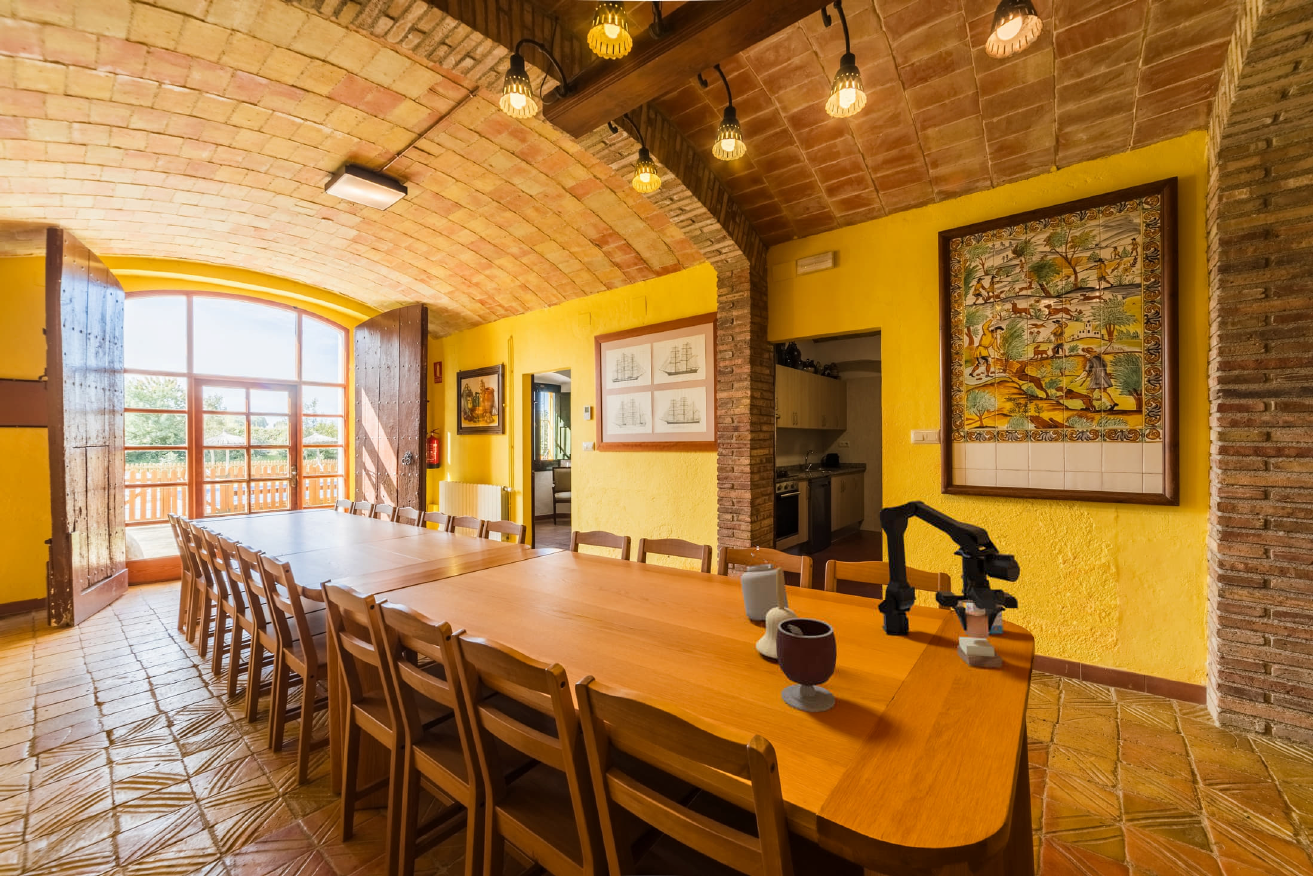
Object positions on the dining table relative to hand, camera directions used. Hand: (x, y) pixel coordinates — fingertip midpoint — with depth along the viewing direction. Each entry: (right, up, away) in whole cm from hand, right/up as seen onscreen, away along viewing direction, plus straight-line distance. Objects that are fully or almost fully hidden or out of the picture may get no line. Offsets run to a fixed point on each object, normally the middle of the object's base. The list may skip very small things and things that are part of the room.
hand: (976, 630), depth 141 cm
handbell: (-51, -10, +9) cm, 53 cm away
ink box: (+15, -8, +21) cm, 27 cm away
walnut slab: (+1, -9, 0) cm, 9 cm away
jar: (-50, -11, +39) cm, 65 cm away
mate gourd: (-52, -10, -18) cm, 56 cm away
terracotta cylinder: (0, -1, 0) cm, 1 cm away
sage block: (0, -6, 0) cm, 6 cm away
